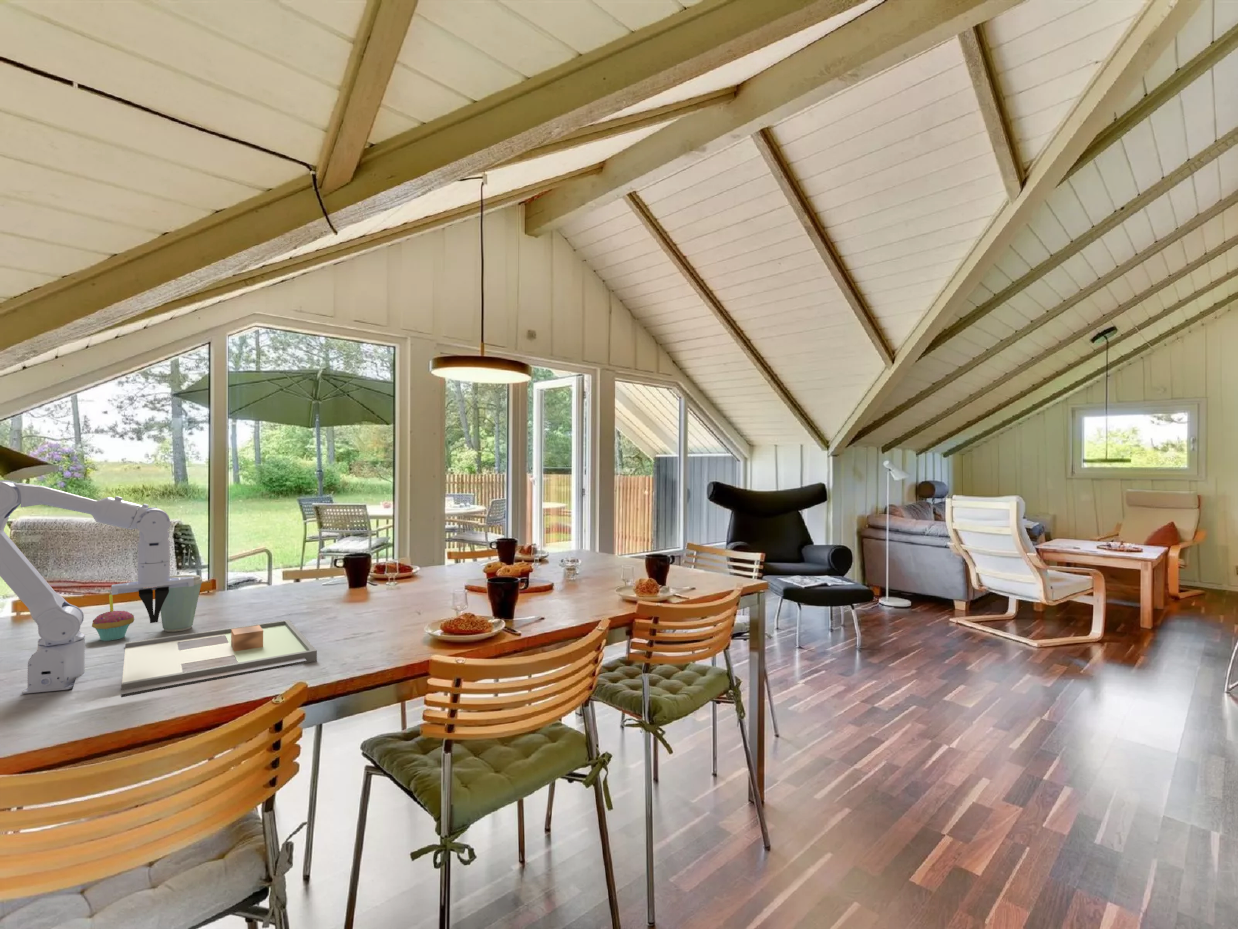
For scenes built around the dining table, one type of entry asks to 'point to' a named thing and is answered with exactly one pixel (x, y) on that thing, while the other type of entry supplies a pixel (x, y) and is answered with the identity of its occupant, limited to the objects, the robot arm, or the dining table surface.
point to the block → (246, 638)
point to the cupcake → (112, 623)
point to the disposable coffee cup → (180, 605)
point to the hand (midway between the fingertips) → (154, 621)
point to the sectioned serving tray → (209, 656)
